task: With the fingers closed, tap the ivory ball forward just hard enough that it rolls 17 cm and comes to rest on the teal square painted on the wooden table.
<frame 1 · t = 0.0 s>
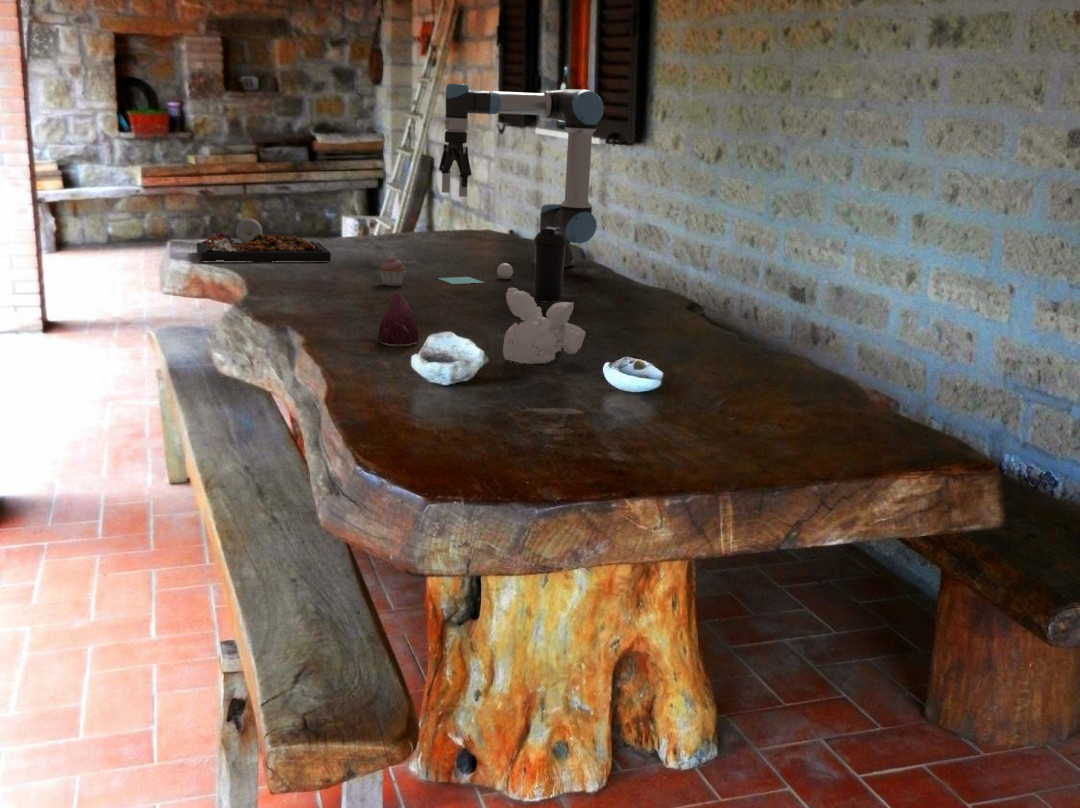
hand: (454, 194, 393), 28 cm above the table, tool pointing down, fingers open, 13 cm apart
water bottle: (547, 301, 363), on the table
vegetable: (398, 343, 294), on the table
cupcake: (392, 285, 376), on the table
cauliflower: (541, 359, 285), on the table
food platter: (263, 260, 420), on the table
ball: (504, 271, 398), on the table
donut: (249, 244, 451), on the table
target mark: (460, 280, 390), on the table
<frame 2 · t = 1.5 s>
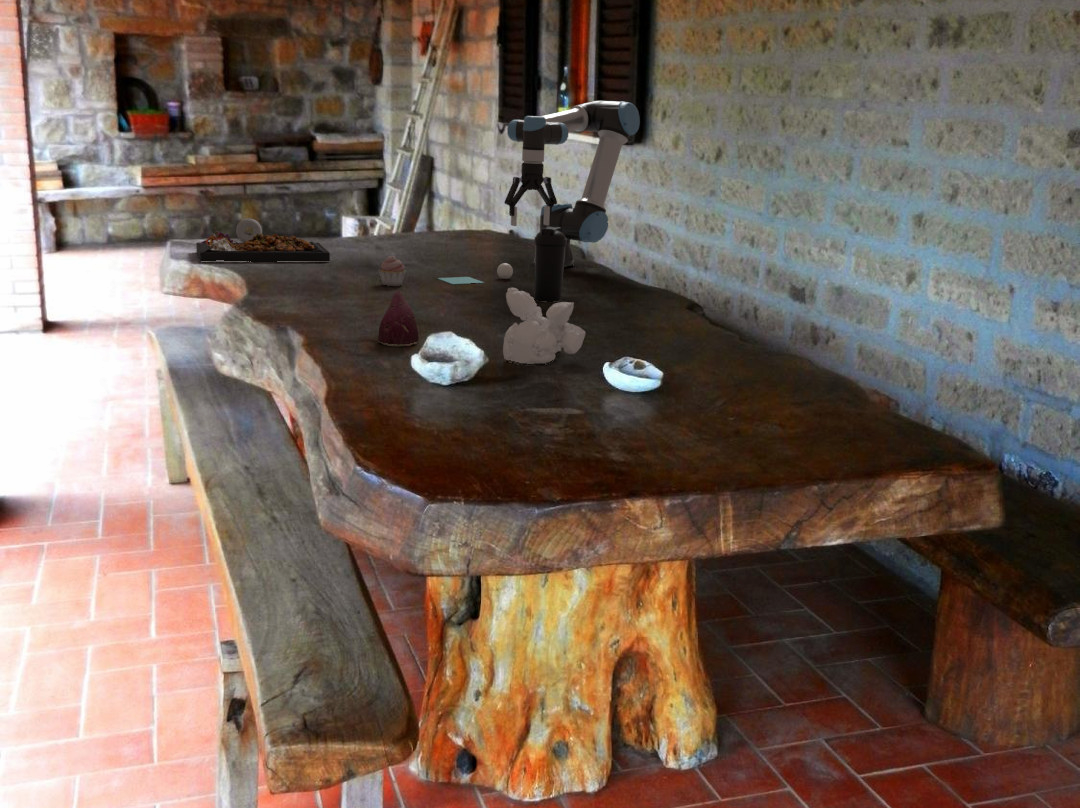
hand: (530, 225, 399), 18 cm above the table, tool pointing down, fingers open, 12 cm apart
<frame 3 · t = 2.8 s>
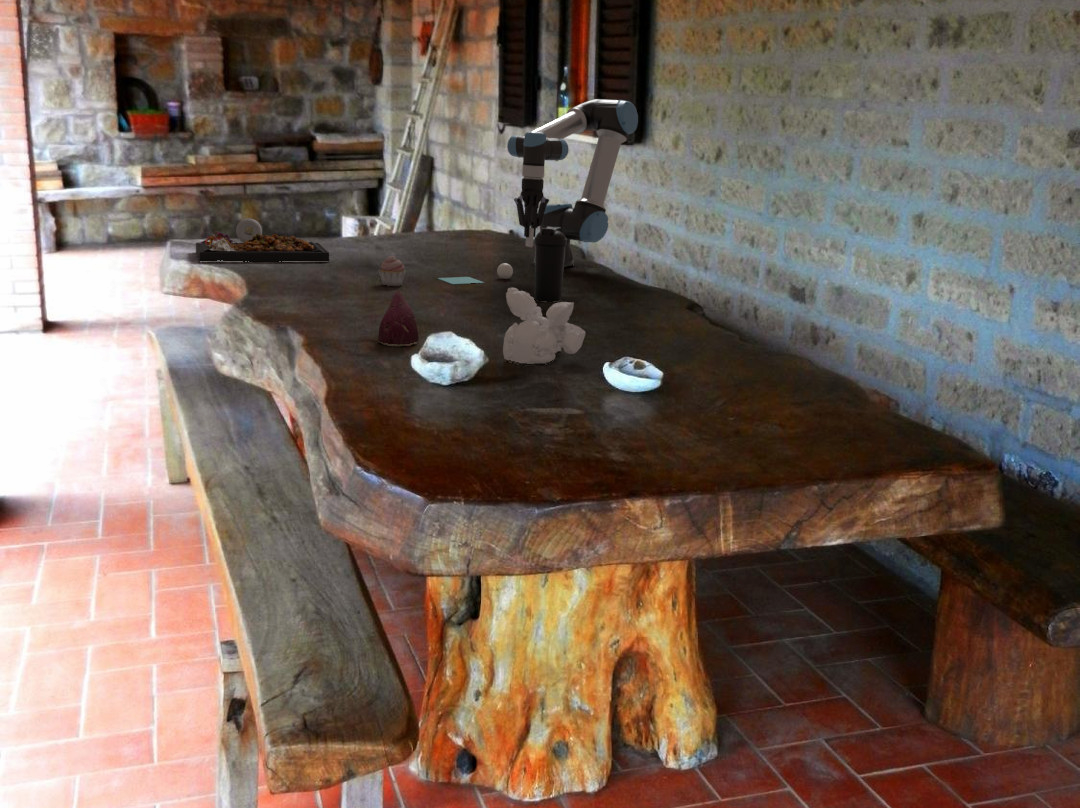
hand: (529, 246, 400), 11 cm above the table, tool pointing down, fingers closed
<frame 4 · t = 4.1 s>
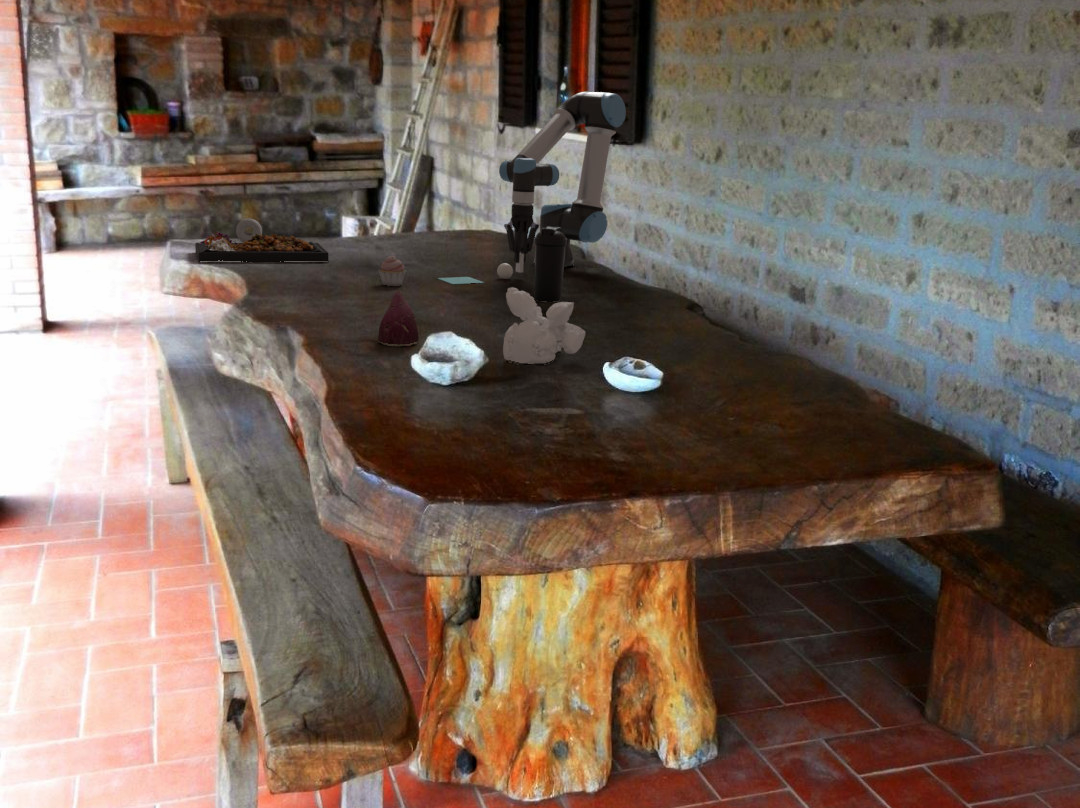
hand: (519, 271, 401), 2 cm above the table, tool pointing down, fingers closed
nothing on the table moved.
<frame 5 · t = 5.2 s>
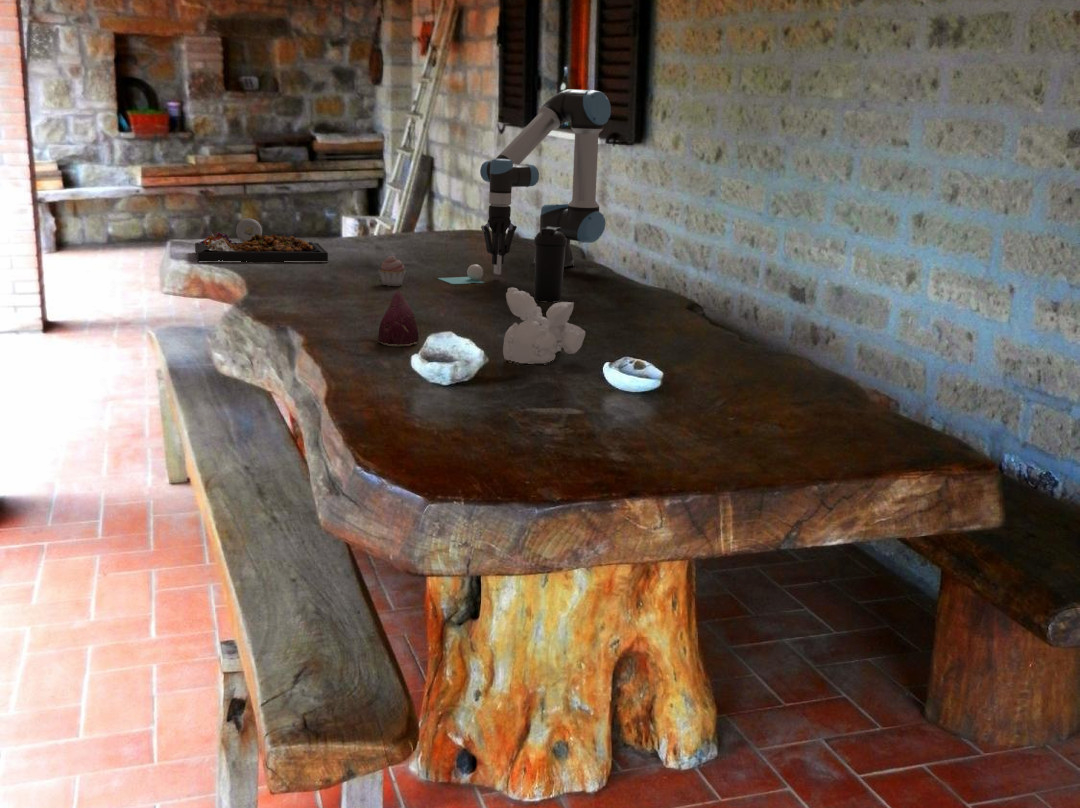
hand: (497, 273, 397), 2 cm above the table, tool pointing down, fingers closed
ball: (475, 272, 392), on the table
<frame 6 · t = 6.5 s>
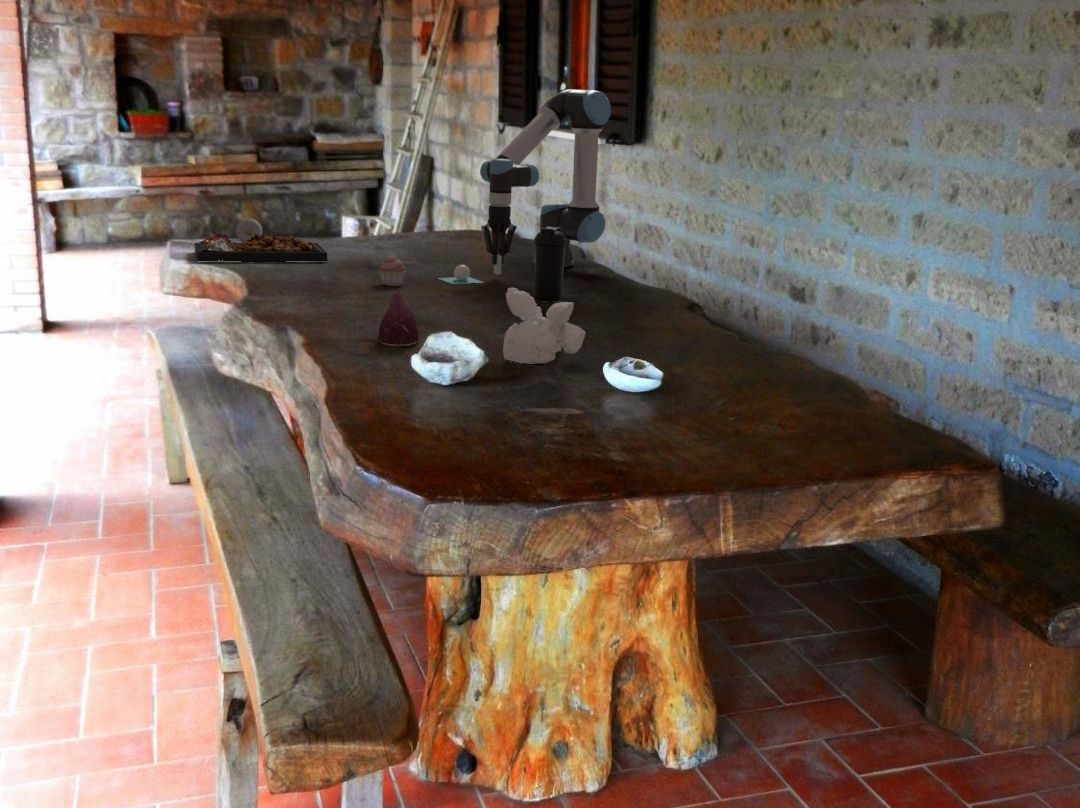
hand: (497, 273, 397), 2 cm above the table, tool pointing down, fingers closed
ball: (461, 272, 390), on the table
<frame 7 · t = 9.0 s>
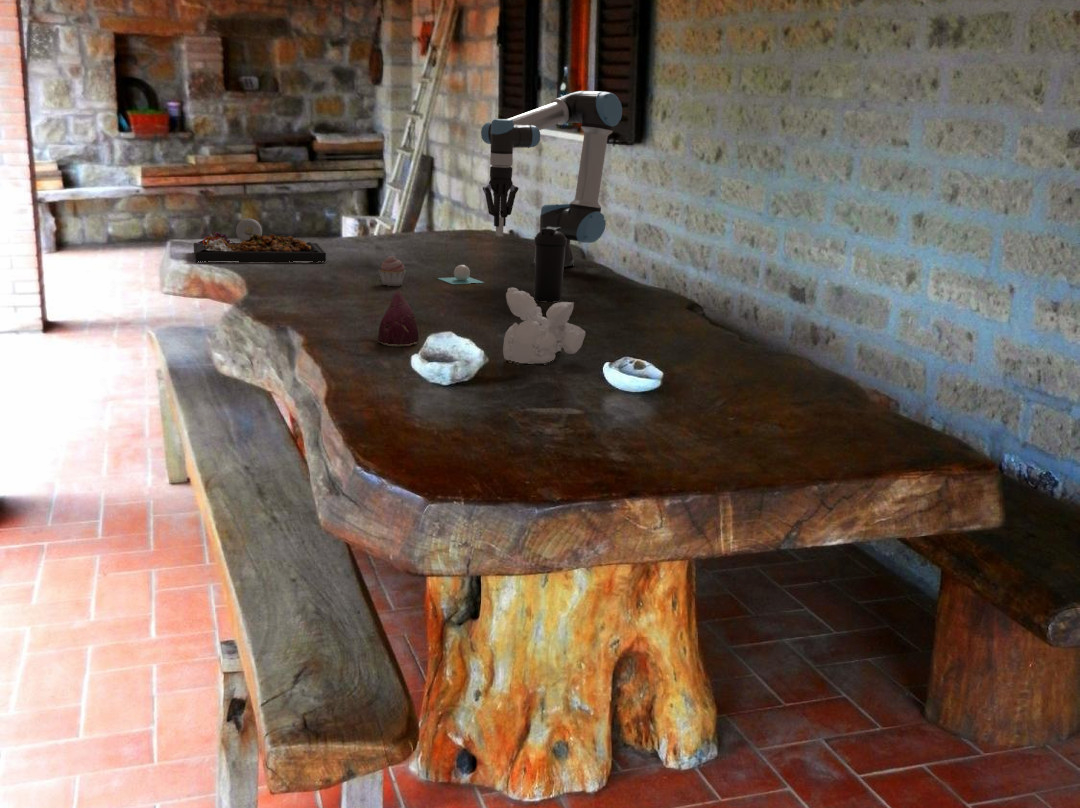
hand: (499, 235, 393), 15 cm above the table, tool pointing down, fingers closed
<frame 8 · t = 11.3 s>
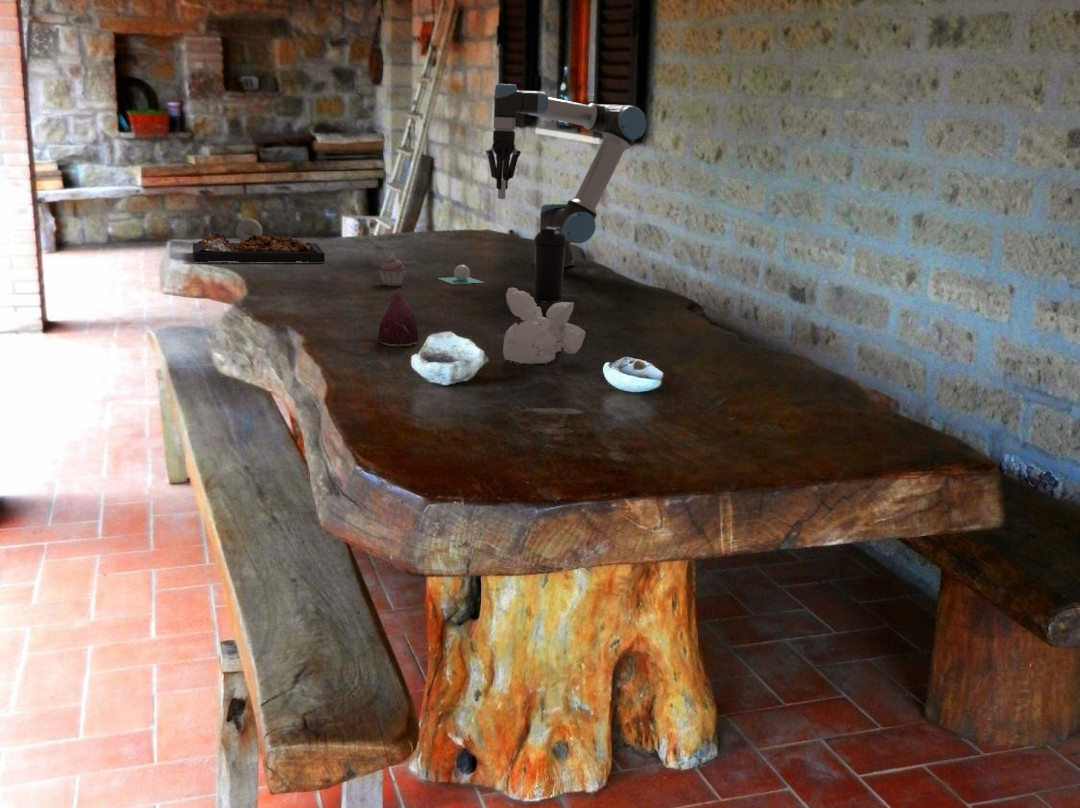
hand: (501, 198, 404), 26 cm above the table, tool pointing down, fingers closed
at the end: ball 0.3 cm from the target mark (horizontally); ball at rest at the end (0.0 cm/s); ball moved 16.7 cm from its start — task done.
